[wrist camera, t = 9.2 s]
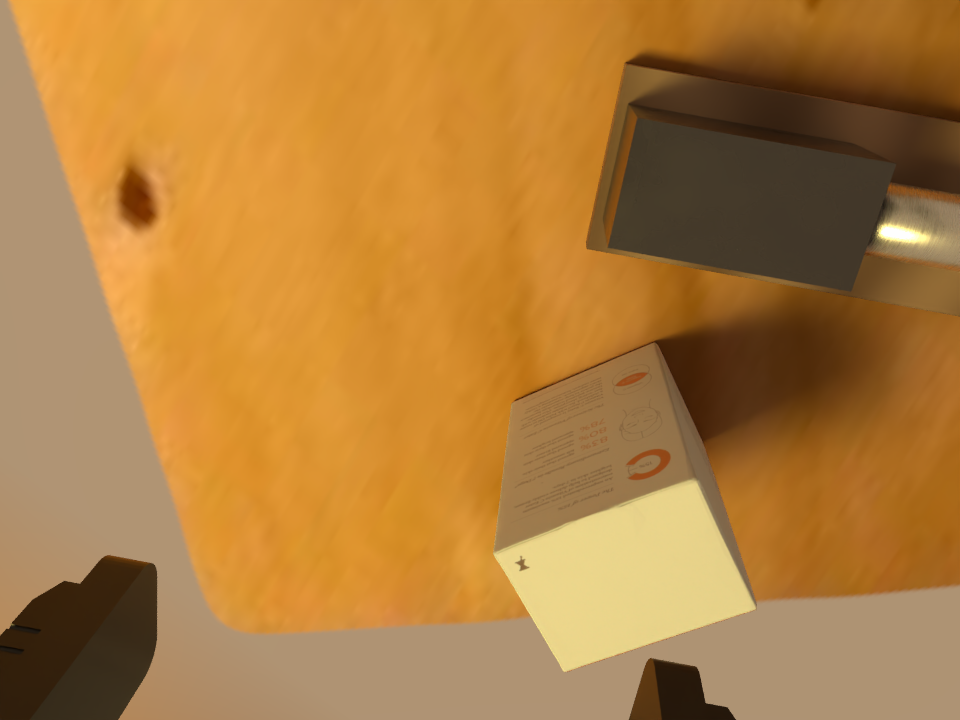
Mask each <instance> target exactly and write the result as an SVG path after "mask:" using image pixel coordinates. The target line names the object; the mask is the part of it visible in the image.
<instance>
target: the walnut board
mask: <svg viewBox="0 0 960 720" xmlns="http://www.w3.org/2000/svg"><path fill="white" fill-rule="evenodd" d="M628 104H634V105H640V106H645V107H651V108H657V109H662V110H668V111H674V112H679V113H685V114H691V115H696V116H702V117H708V118H713V119H719V120H725V121H730V122H736V123H742V124H747V125H753V126H759V127H764V128H770V129H776V130H781V131H787V132H793V133H798V134H804V135H810V136H815V137H821V138H827V139H832V140H838V141H844V142H849V143H854V144H856V145H858V146H860V147H863V148H865V149H867V150H869V151H871V152H873V153H875V154H877V155H879V156H882V157H884V158H886V159H888V160H890V161H892V162H894V163H896V167H895V170H894V173H893V175H892V178H891V181H890V182H892V183H898V184H903V185H909V186H915V187H920V188H926V189H932V190H937V191H943V192H949V193H954V194H960V122H959V121H953V120H947V119H941V118H936V117H930V116H924V115H919V114H913V113H907V112H902V111H896V110H890V109H884V108H879V107H873V106H867V105H862V104H856V103H850V102H845V101H839V100H833V99H827V98H822V97H816V96H810V95H805V94H799V93H793V92H788V91H782V90H776V89H770V88H765V87H759V86H753V85H748V84H742V83H736V82H731V81H725V80H719V79H713V78H708V77H702V76H696V75H691V74H685V73H679V72H674V71H668V70H662V69H656V68H651V67H645V66H639V65H634V64H628V63H625V64H624V69H623V74H622V78H621V83H620V87H619V92H618V97H617V101H616V106H615V111H614V115H613V120H612V124H611V129H610V134H609V138H608V143H607V148H606V152H605V157H604V161H603V166H602V171H601V175H600V180H599V185H598V189H597V194H596V199H595V203H594V208H593V212H592V217H591V222H590V226H589V231H588V236H587V240H586V247H587V249H590V250H595V251H601V252H606V253H612V254H618V255H623V256H629V257H634V258H640V259H645V260H651V261H656V262H662V263H667V264H673V265H678V266H684V267H689V268H695V269H700V270H706V271H712V272H717V273H723V274H728V275H734V276H739V277H745V278H750V279H756V280H761V281H767V282H772V283H778V284H783V285H789V286H794V287H800V288H806V289H811V290H817V291H822V292H828V293H833V294H839V295H844V296H850V297H855V298H861V299H866V300H872V301H877V302H883V303H888V304H894V305H900V306H905V307H911V308H916V309H922V310H927V311H933V312H938V313H944V314H949V315H955V316H960V272H955V271H949V270H944V269H938V268H933V267H927V266H921V265H916V264H910V263H905V262H899V261H894V260H888V259H883V258H877V257H871V256H866V255H864V257H863V260H862V263H861V266H860V269H859V271H858V274H857V277H856V280H855V283H854V285H853V288H852V291H851V292H849V291H844V290H838V289H833V288H827V287H822V286H816V285H811V284H805V283H799V282H794V281H788V280H783V279H777V278H772V277H766V276H761V275H755V274H750V273H744V272H739V271H733V270H728V269H722V268H716V267H711V266H705V265H700V264H694V263H689V262H683V261H678V260H672V259H667V258H661V257H656V256H650V255H645V254H639V253H633V252H628V251H622V250H617V249H611V248H608V247H607V241H606V235H605V230H604V224H603V214H604V209H605V205H606V200H607V196H608V191H609V187H610V182H611V178H612V173H613V169H614V164H615V160H616V155H617V151H618V146H619V142H620V137H621V133H622V128H623V124H624V119H625V115H626V110H627V105H628Z"/></svg>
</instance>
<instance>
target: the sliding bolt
mask: <svg viewBox="0 0 960 720" xmlns="http://www.w3.org/2000/svg"><path fill="white" fill-rule="evenodd" d="M864 255H866V256H871V257H877V258H883V259H888V260H894V261H899V262H905V263H910V264H916V265H921V266H927V267H933V268H938V269H944V270H949V271H955V272H960V194H954V193H949V192H943V191H937V190H932V189H926V188H920V187H915V186H909V185H903V184H898V183H892V182H890V184H889V187H888V189H887V192H886V195H885V198H884V201H883V204H882V206H881V209H880V212H879V215H878V218H877V221H876V223H875V226H874V229H873V232H872V235H871V237H870V240H869V243H868V246H867V249H866V252H865V254H864Z"/></svg>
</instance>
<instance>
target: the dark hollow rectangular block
mask: <svg viewBox="0 0 960 720" xmlns="http://www.w3.org/2000/svg"><path fill="white" fill-rule="evenodd" d="M895 167H896V163H894V162H892V161H890V160H888V159H886V158H884V157H882V156H879V155H877V154H875V153H873V152H871V151H869V150H867V149H865V148H863V147H860V146H858V145H856V144H854V143H849V142H844V141H838V140H832V139H827V138H821V137H815V136H810V135H804V134H798V133H793V132H787V131H781V130H776V129H770V128H764V127H759V126H753V125H747V124H742V123H736V122H730V121H725V120H719V119H713V118H708V117H702V116H696V115H691V114H685V113H679V112H674V111H668V110H662V109H657V108H651V107H645V106H640V105H634V104H628V105H627V110H626V115H625V119H624V124H623V128H622V133H621V137H620V142H619V146H618V151H617V155H616V160H615V164H614V169H613V173H612V178H611V182H610V187H609V191H608V196H607V200H606V205H605V209H604V214H603V224H604V230H605V235H606V241H607V247H608V248H611V249H617V250H622V251H628V252H633V253H639V254H645V255H650V256H656V257H661V258H667V259H672V260H678V261H683V262H689V263H694V264H700V265H705V266H711V267H716V268H722V269H728V270H733V271H739V272H744V273H750V274H755V275H761V276H766V277H772V278H777V279H783V280H788V281H794V282H799V283H805V284H811V285H816V286H822V287H827V288H833V289H838V290H844V291H849V292H851V291H852V288H853V285H854V283H855V280H856V277H857V274H858V271H859V269H860V266H861V263H862V260H863V257H864V254H865V252H866V249H867V246H868V243H869V240H870V237H871V235H872V232H873V229H874V226H875V223H876V221H877V218H878V215H879V212H880V209H881V206H882V204H883V201H884V198H885V195H886V192H887V189H888V187H889V184H890V181H891V178H892V175H893V173H894V170H895Z"/></svg>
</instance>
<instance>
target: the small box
mask: <svg viewBox="0 0 960 720" xmlns="http://www.w3.org/2000/svg"><path fill="white" fill-rule="evenodd" d="M493 555H494V556H495V558H496V559H497V561H498V562H499V564H500V566H501V567H502V569H503V570H504V572H505V574H506V575H507V577H508V578H509V580H510V582H511V583H512V585H513V587H514V588H515V590H516V592H517V593H518V595H519V597H520V598H521V600H522V602H523V604H524V605H525V607H526V609H527V610H528V612H529V614H530V615H531V617H532V619H533V620H534V622H535V624H536V625H537V627H538V629H539V631H540V632H541V634H542V635H543V637H544V639H545V641H546V642H547V644H548V646H549V647H550V649H551V651H552V652H553V654H554V656H555V657H556V659H557V661H558V662H559V664H560V666H561V667H562V669H563V671H564V672H568V671H571V670H574V669H577V668H580V667H583V666H586V665H589V664H592V663H595V662H598V661H601V660H604V659H607V658H610V657H613V656H616V655H619V654H623V653H626V652H628V651H631V650H634V649H637V648H640V647H643V646H647V645H650V644H653V643H656V642H659V641H662V640H665V639H668V638H671V637H674V636H677V635H680V634H683V633H686V632H689V631H692V630H695V629H698V628H701V627H704V626H708V625H711V624H714V623H717V622H720V621H723V620H726V619H729V618H732V617H735V616H738V615H741V614H745V613H748V612H751V611H754V610H756V609H757V604H756V601H755V597H754V594H753V591H752V588H751V585H750V582H749V579H748V576H747V573H746V570H745V567H744V564H743V561H742V558H741V555H740V552H739V549H738V546H737V543H736V540H735V537H734V534H733V531H732V528H731V525H730V522H729V518H728V515H727V512H726V509H725V506H724V503H723V500H722V497H721V495H720V491H719V488H718V485H717V482H716V479H715V476H714V473H713V471H712V468H711V465H710V462H709V459H708V456H707V453H706V450H705V447H704V445H703V442H702V439H701V437H700V435H699V433H698V431H697V429H696V426H695V424H694V422H693V420H692V418H691V416H690V413H689V411H688V409H687V407H686V405H685V402H684V400H683V398H682V396H681V394H680V392H679V389H678V387H677V385H676V383H675V381H674V378H673V376H672V374H671V372H670V370H669V368H668V365H667V363H666V361H665V359H664V357H663V354H662V352H661V350H660V348H659V346H658V345H657V344H656V343H651V344H649V345H647V346H644V347H642V348H639V349H637V350H635V351H632V352H630V353H627V354H625V355H623V356H620V357H618V358H615V359H613V360H611V361H608V362H606V363H604V364H601V365H599V366H597V367H594V368H592V369H590V370H587V371H585V372H582V373H580V374H578V375H575V376H573V377H570V378H568V379H566V380H563V381H561V382H559V383H556V384H554V385H552V386H549V387H547V388H545V389H542V390H540V391H538V392H535V393H533V394H531V395H528V396H526V397H524V398H522V399H519V400H517V401H515V402H513V403H512V404H511V412H510V421H509V428H508V436H507V444H506V452H505V461H504V469H503V479H502V487H501V495H500V503H499V511H498V519H497V527H496V536H495V544H494V551H493Z"/></svg>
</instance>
